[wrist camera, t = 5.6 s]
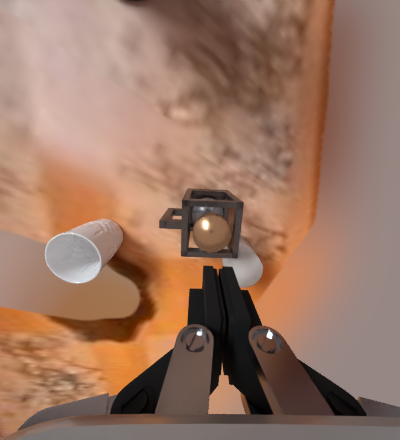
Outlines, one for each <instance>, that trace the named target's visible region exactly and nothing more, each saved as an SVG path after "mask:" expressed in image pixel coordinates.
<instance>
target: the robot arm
mask: <svg viewBox="0 0 400 440" xmlns="http://www.w3.org/2000/svg"><path fill="white" fill-rule="evenodd" d="M222 364H223V372H224V375H228V378H229V384H230V385H234V386H235V387H236V388H237V389H238V390H239V391H240V392H241V400H242V404H243V407H244V410H245V413H246V414H245V415H243V414H208V409H209V396H210V395H211V394H212V392H213V391H214V390H215V389H216V387H217V386H218V382H219V375H221V366H222ZM0 440H400V407H397V406H393V405H390V404H386V403H381V402H378V401H374V400H370V399H366V398H362V397H359V398H358V400H356V399H355V398H354V397H353V396H351V395H350V394H349V393H348V392H346V391H345V390H343V389H342V388H341V387H339V386H337V385H336V384H334V383H333V382H332V381H330V380H329V379H327V378H326V377H324V376H322V375H321V374H319V373H318V372H316V371H315V370H313V369H312V368H311V367H309V366H308V365H306V364H305V363H303V362H301V361H300V360H299V359H297V357H296V356H295V354H294V353H293V351H292V350H291V348H290V347H289V345H288V344H287V342H286V341H285V339H284V338H283V337H282V336H281V335H280V334H279V333H278V332H277V331H276V330H274V329H272V328H270V327H266V326H262V323H261V321H260V319H259V316H258V314H257V311H256V309H255V306H254V304H253V301H252V299H251V296H250V294H249V292H248V290H240V287H239V284H238V281H237V278H236V275H235V272H234V269H233V267H228V266H223V267H222V269H219V275H218V274H217V269H213V266H203V284H202V289H190V292H189V308H188V324H187V326H186V327H184V328H183V329H182V330H181V331H180V332H179V334H178V336H177V339H176V342H175V346H174V348H173V349H172V350H170V351H169V352H168V353H167V354H165V355H164V356H163V357H162V358H160V359H159V360H158V361H157V362H155V363H154V364H153V365H152V366H150V367H149V368H148V369H147V370H145V371H144V372H143V373H142V374H140V375H139V376H138V377H137V378H135V379H134V380H133V381H132V382H130V383H129V384H128V385H127V386H125V387H124V388H123V389H122V390H121V391H120V392H119V393H118V395H114V396H110V397H109V393H107V394H103V395H99V396H95V397H91V398H87V399H82V400H78V401H74V402H70V403H66V404H62V405H58V406H53V407H49V408H46V409H44V410H41V411H39V412H37V413H36V414H34V415H33V416H32V417H30V418H29V419H28V420H27V421H26V422H25V423H24V424H23V425H22V426H21V427H20V428H19V429H18V430H17V432H14V433H12V434H10V435H7V436H5V437H3V438H1V439H0Z"/></svg>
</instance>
